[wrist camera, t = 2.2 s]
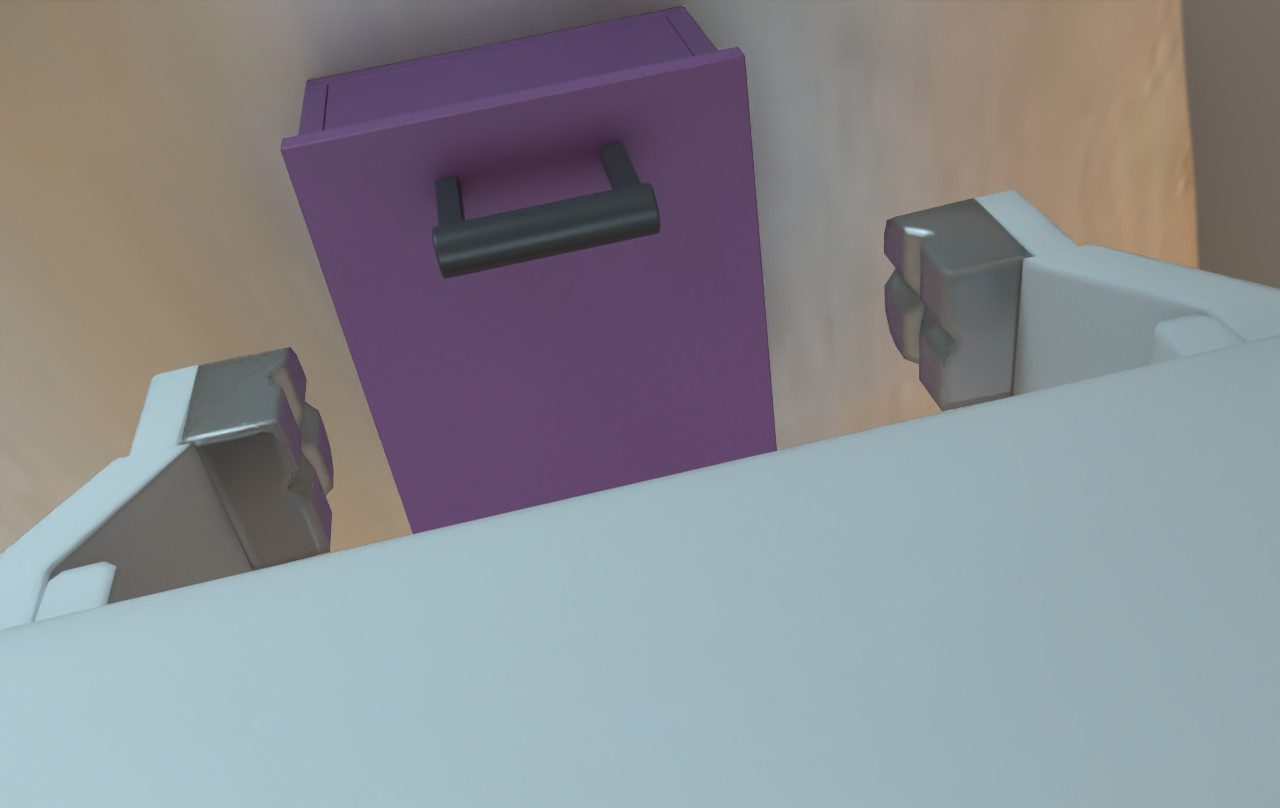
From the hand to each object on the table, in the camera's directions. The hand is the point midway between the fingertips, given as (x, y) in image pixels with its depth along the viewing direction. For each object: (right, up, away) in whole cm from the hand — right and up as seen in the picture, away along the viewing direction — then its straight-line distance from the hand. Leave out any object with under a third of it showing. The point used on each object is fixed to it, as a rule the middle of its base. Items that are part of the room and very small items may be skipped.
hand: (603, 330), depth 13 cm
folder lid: (-2, +1, +25) cm, 25 cm away
